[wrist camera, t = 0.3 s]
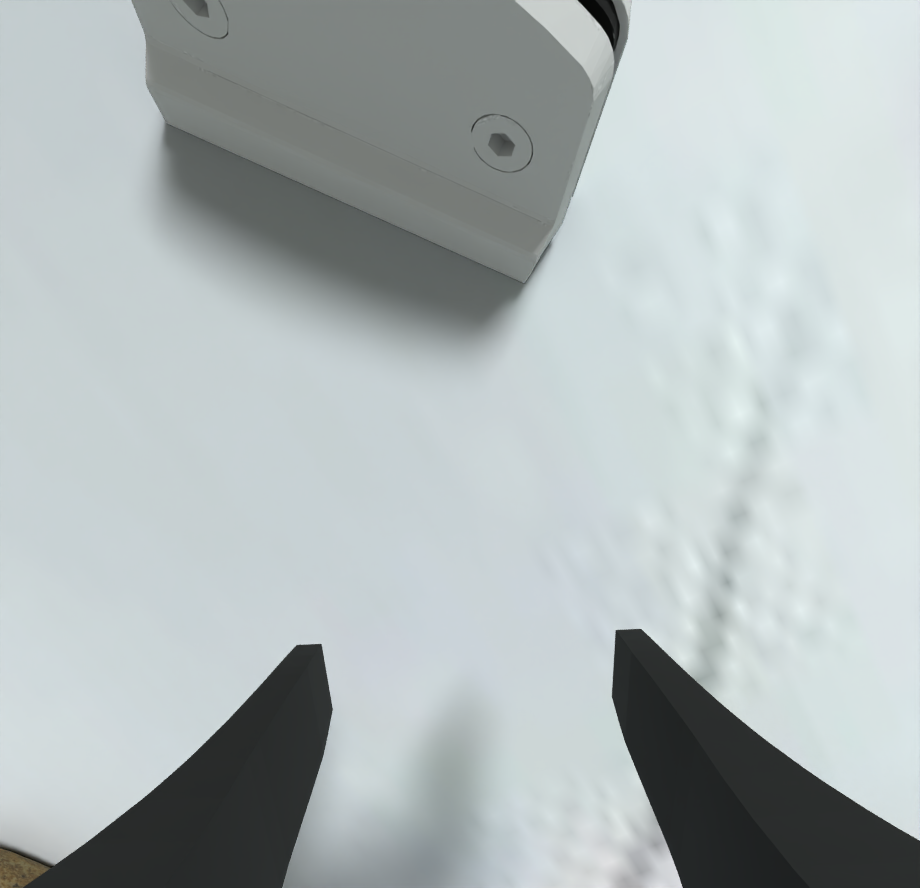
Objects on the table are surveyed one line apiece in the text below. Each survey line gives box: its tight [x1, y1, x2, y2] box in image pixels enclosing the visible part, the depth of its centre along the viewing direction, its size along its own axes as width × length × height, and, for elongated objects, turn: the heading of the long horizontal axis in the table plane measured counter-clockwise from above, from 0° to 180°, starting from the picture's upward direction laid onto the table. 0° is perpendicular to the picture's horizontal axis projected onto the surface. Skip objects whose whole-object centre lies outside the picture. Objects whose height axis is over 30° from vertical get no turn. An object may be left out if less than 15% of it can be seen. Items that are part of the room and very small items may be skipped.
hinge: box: [132, 0, 632, 283], centre depth 16 cm, size 17×5×10 cm, turn 67°
